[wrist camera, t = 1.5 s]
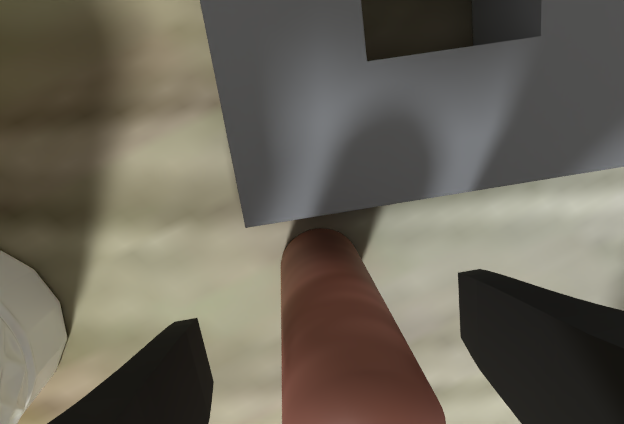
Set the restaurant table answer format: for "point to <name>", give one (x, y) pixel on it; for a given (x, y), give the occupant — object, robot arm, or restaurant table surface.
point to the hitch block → (411, 103)
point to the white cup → (26, 337)
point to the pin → (344, 342)
